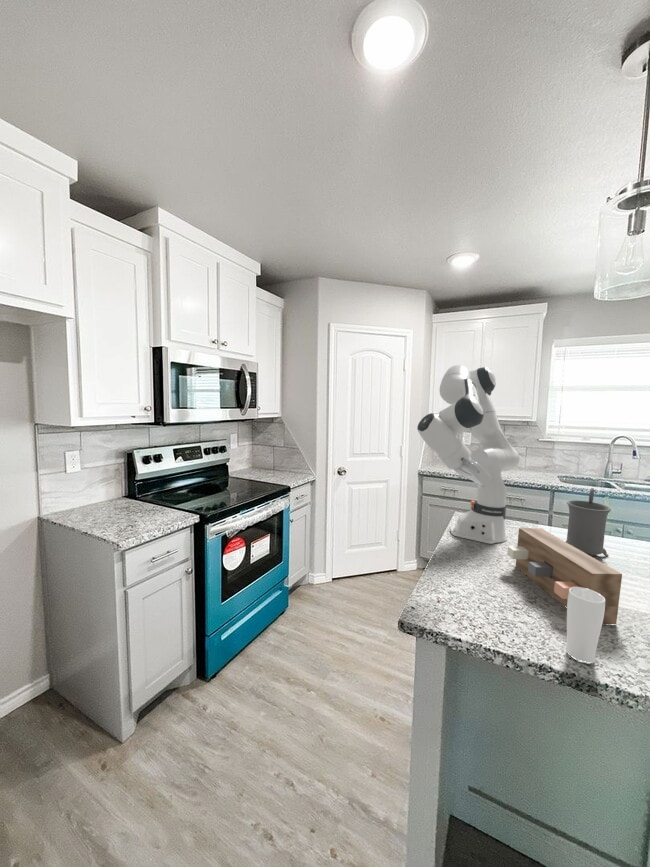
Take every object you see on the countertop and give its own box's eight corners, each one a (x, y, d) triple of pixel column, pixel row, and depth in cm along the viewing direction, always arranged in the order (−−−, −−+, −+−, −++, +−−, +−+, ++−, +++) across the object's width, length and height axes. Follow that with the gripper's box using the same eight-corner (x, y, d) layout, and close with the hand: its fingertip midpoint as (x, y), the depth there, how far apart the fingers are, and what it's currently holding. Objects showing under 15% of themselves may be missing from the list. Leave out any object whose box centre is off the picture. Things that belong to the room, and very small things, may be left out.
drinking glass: (588, 672, 78) (595, 605, 76) (555, 652, 84) (562, 590, 82) (604, 662, 81) (612, 598, 79) (572, 643, 87) (578, 584, 85)
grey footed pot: (605, 567, 129) (612, 498, 127) (556, 554, 139) (563, 490, 137) (609, 552, 143) (617, 490, 141) (565, 541, 153) (571, 483, 151)
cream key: (512, 559, 120) (513, 550, 120) (507, 554, 124) (507, 546, 124) (528, 559, 121) (529, 550, 120) (522, 554, 124) (523, 546, 124)
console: (586, 625, 94) (592, 573, 93) (515, 566, 127) (519, 527, 126) (616, 625, 95) (622, 574, 93) (537, 566, 128) (541, 528, 126)
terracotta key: (562, 598, 96) (563, 588, 96) (553, 591, 100) (554, 581, 100) (582, 599, 97) (583, 588, 96) (573, 592, 100) (574, 581, 100)
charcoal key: (534, 576, 108) (535, 567, 108) (528, 571, 112) (528, 561, 112) (552, 577, 109) (553, 567, 108) (545, 571, 112) (546, 562, 112)
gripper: (478, 454, 108) (507, 487, 109) (451, 445, 128) (476, 473, 129) (462, 469, 108) (492, 501, 109) (438, 457, 128) (463, 485, 130)
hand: (483, 486), depth 119 cm, fingers closed
